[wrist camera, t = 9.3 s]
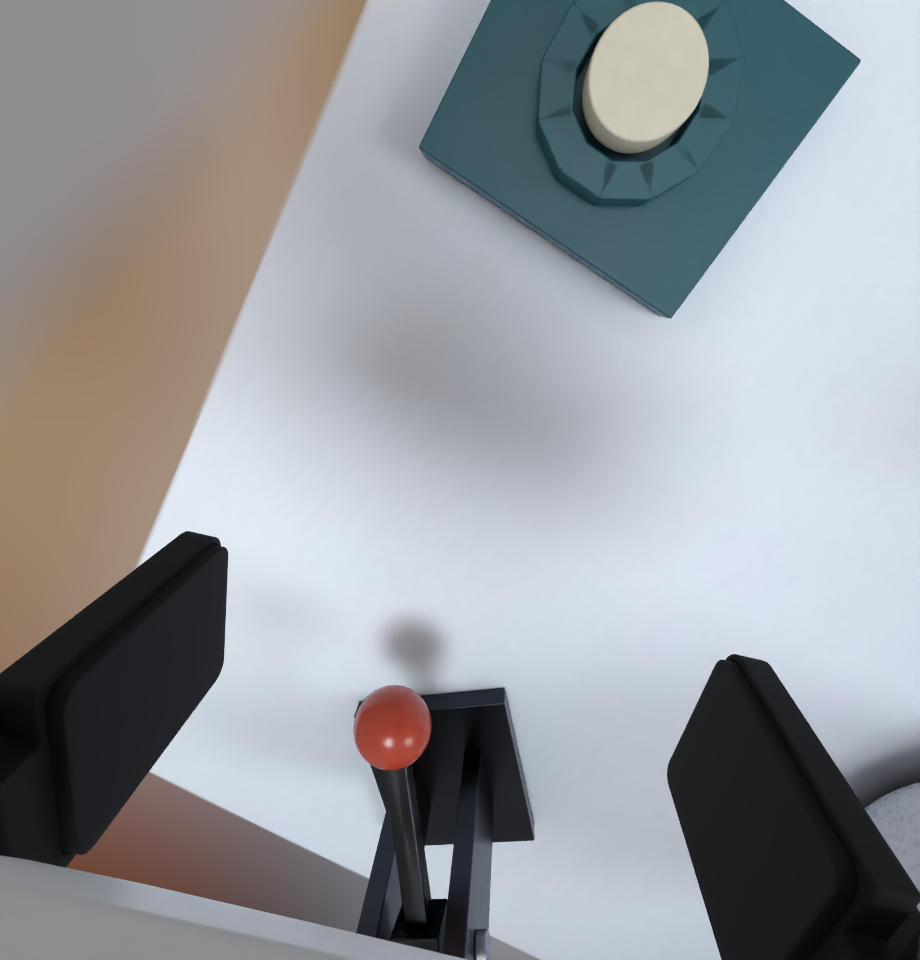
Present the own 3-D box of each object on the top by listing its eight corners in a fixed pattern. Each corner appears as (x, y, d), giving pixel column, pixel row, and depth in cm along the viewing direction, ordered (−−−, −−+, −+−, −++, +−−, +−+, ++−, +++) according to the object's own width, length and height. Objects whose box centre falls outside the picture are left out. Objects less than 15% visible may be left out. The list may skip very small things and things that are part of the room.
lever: (364, 678, 27) (336, 705, 23) (433, 671, 26) (415, 698, 23) (400, 949, 26) (377, 1020, 23) (472, 948, 26) (460, 1021, 22)
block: (424, 157, 22) (409, 135, 19) (567, -128, 18) (578, -216, 15) (660, 317, 23) (684, 322, 20) (834, 77, 20) (898, 37, 16)
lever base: (359, 701, 32) (278, 916, 21) (504, 687, 31) (498, 910, 20) (401, 829, 36) (351, 1071, 25) (534, 823, 35) (542, 1076, 24)
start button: (560, 115, 18) (564, 99, 17) (625, 1, 17) (637, -28, 15) (645, 175, 19) (657, 165, 17) (715, 68, 17) (736, 46, 16)
